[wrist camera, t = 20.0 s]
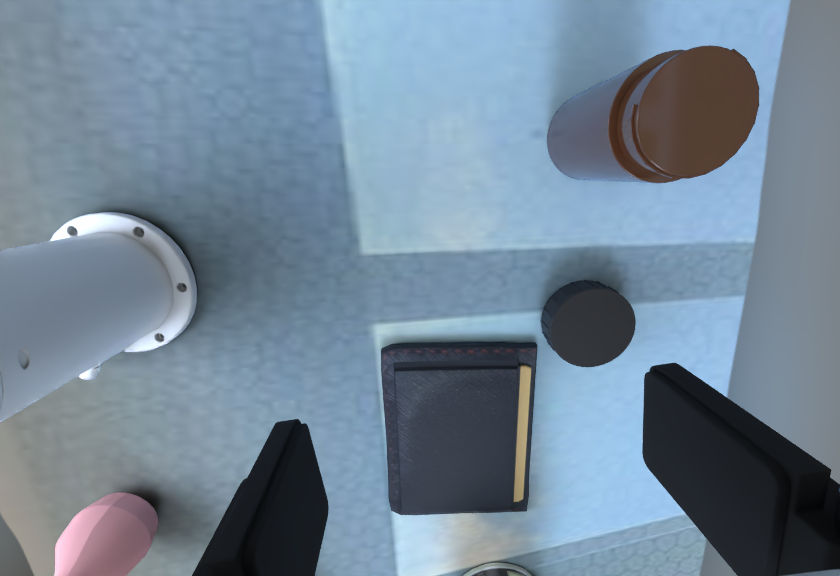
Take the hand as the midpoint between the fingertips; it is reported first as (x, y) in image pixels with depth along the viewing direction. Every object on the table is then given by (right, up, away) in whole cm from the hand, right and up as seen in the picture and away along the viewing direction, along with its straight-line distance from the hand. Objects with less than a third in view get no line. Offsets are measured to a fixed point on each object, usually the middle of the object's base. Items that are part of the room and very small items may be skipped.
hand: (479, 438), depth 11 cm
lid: (+13, +1, +23) cm, 27 cm away
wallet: (+2, -10, +29) cm, 31 cm away
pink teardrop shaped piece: (-32, -20, +31) cm, 49 cm away
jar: (+12, +16, +21) cm, 29 cm away
